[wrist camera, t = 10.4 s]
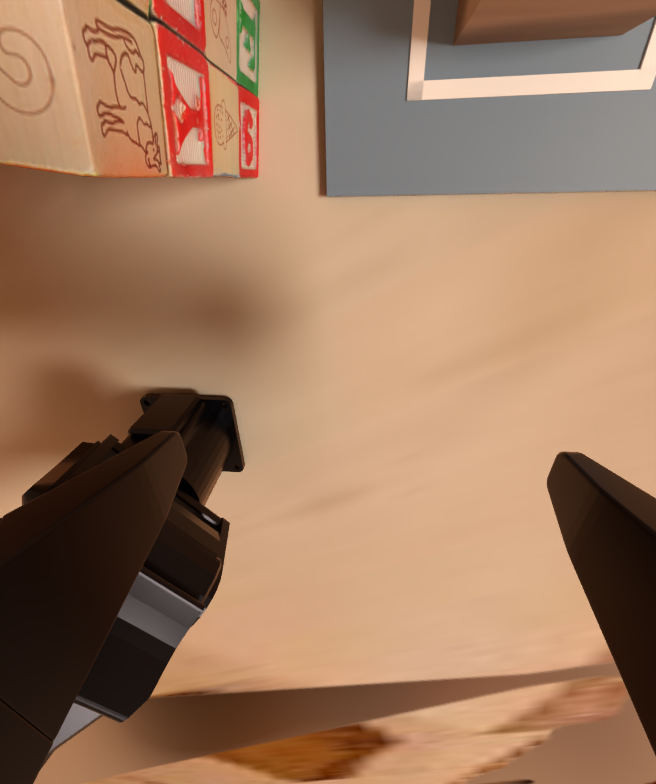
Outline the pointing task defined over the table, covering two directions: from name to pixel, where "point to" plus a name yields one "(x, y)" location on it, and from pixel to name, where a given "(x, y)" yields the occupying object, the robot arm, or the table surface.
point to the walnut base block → (546, 19)
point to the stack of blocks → (130, 87)
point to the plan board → (481, 106)
